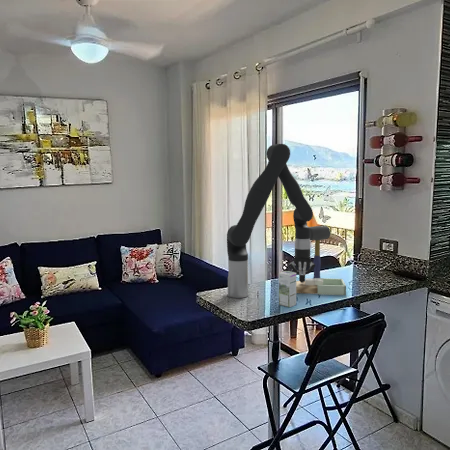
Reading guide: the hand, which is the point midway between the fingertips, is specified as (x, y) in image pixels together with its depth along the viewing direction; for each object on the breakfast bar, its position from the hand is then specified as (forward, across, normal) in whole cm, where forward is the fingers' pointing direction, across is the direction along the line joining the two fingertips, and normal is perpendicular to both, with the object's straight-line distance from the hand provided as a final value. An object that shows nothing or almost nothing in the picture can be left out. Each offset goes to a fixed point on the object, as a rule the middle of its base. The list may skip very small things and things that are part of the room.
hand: (302, 282), depth 208 cm
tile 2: (+1, +8, 0) cm, 8 cm away
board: (+4, +1, 0) cm, 4 cm away
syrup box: (+4, -7, -25) cm, 26 cm away
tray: (+4, +14, 0) cm, 14 cm away
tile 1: (+1, +4, 0) cm, 4 cm away
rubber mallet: (+4, +8, +15) cm, 17 cm away
